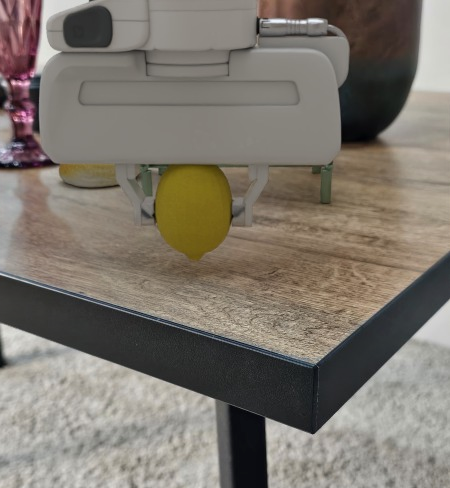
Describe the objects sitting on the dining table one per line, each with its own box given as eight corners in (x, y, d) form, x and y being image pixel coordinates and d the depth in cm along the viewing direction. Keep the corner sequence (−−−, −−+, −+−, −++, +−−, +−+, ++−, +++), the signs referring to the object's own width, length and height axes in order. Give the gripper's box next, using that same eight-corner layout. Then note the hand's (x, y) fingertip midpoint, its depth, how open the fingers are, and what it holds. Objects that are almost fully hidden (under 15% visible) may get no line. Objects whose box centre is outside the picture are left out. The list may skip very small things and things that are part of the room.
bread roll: (49, 188, 77) (44, 149, 76) (84, 168, 85) (80, 133, 84) (123, 191, 76) (120, 152, 74) (151, 171, 84) (149, 135, 82)
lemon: (225, 246, 57) (225, 142, 54) (238, 271, 52) (239, 158, 49) (154, 250, 56) (149, 145, 53) (160, 276, 51) (155, 162, 48)
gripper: (346, 15, 50) (335, 213, 55) (47, 16, 51) (65, 210, 56) (357, 20, 44) (343, 239, 50) (19, 21, 45) (43, 236, 51)
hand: (193, 224), depth 53 cm, fingers closed on lemon, 5 cm apart
